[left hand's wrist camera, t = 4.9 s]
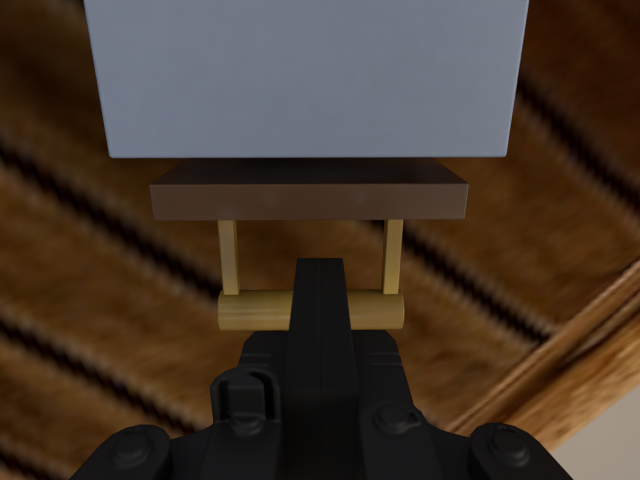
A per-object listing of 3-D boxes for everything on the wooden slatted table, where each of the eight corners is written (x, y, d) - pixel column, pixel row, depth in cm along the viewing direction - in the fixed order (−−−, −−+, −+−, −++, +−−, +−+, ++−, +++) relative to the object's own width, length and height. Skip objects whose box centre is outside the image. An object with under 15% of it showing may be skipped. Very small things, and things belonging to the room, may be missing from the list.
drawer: (410, 280, 23) (447, 360, 16) (211, 281, 22) (173, 363, 16) (454, -277, 15) (555, -522, 9) (158, -280, 15) (47, -532, 9)
